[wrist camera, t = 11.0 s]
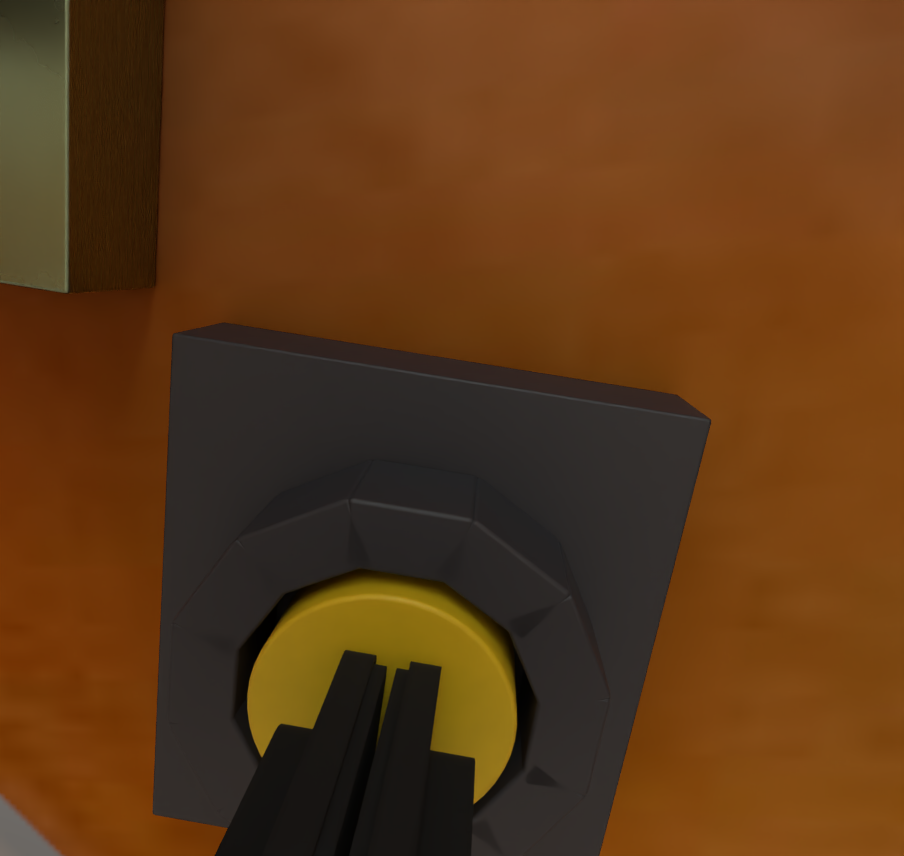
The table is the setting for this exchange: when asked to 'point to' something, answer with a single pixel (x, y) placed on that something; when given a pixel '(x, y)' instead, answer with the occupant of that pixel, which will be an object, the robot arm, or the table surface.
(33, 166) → the dial panel
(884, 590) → the table surface
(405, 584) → the button
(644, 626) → the button box
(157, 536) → the table surface
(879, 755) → the table surface
